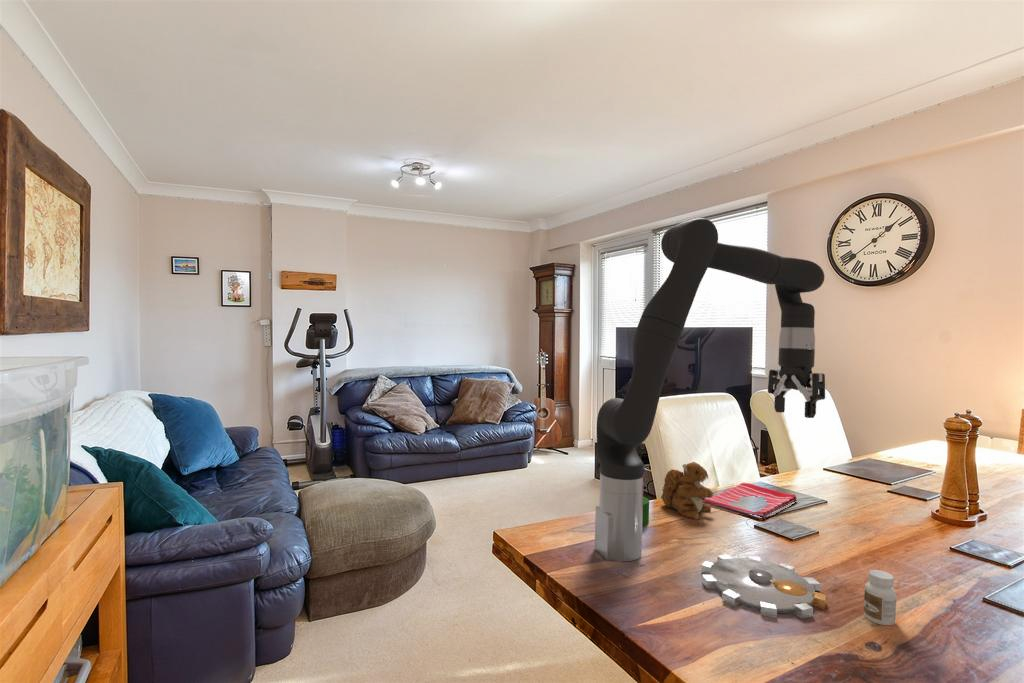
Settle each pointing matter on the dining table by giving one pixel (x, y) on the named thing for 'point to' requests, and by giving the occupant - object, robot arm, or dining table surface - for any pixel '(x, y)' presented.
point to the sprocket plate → (763, 586)
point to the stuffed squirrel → (686, 490)
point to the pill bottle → (880, 598)
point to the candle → (645, 511)
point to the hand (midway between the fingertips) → (794, 414)
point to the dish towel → (743, 490)
